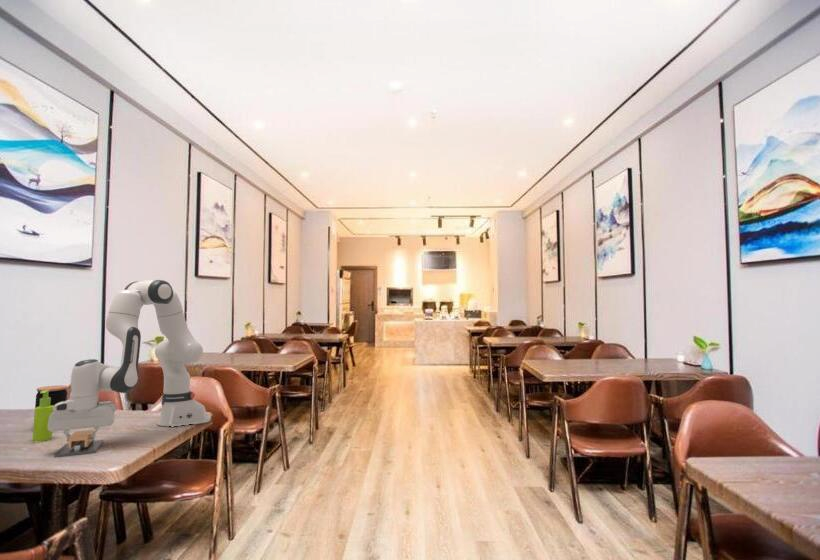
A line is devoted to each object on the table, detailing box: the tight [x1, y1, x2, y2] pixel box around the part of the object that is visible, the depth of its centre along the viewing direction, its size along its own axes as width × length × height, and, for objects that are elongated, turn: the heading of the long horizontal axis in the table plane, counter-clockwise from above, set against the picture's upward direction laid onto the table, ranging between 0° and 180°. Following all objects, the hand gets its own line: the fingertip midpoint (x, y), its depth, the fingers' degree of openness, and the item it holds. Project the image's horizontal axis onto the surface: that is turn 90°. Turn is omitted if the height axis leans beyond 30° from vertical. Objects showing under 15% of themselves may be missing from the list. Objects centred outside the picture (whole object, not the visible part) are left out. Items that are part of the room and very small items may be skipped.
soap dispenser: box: [32, 390, 54, 442], centre depth 171 cm, size 6×7×20 cm
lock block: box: [68, 429, 94, 449], centre depth 159 cm, size 6×9×4 cm, turn 26°
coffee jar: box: [34, 385, 68, 416], centre depth 188 cm, size 11×11×18 cm
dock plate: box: [53, 430, 104, 458], centre depth 159 cm, size 12×14×5 cm
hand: (81, 439), depth 159 cm, fingers closed on lock block, 6 cm apart
